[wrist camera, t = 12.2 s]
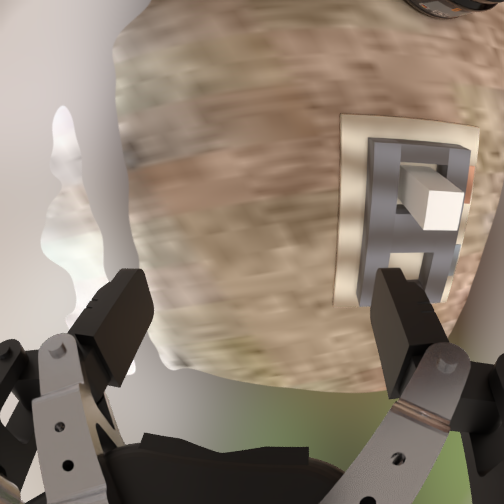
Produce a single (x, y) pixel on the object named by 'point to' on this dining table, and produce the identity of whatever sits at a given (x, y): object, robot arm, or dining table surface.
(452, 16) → the supplement container
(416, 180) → the white rectangular block
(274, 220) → the dining table surface
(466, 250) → the dining table surface
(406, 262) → the socket board
